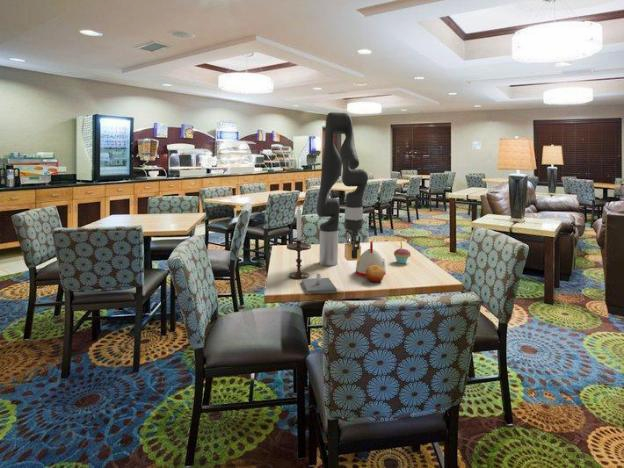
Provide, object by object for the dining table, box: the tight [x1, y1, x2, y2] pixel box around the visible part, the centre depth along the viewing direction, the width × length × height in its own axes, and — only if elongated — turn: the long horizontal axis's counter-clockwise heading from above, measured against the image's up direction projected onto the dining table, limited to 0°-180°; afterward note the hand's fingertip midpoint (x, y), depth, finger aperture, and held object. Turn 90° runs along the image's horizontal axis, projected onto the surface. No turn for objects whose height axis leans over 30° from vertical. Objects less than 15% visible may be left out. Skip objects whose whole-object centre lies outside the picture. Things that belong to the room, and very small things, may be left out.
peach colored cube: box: [344, 243, 362, 262], centre depth 183 cm, size 6×6×6 cm
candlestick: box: [286, 199, 312, 280], centre depth 193 cm, size 11×11×35 cm
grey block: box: [301, 272, 338, 294], centre depth 181 cm, size 16×12×6 cm
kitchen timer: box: [355, 241, 387, 278], centre depth 201 cm, size 14×14×15 cm
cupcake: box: [393, 239, 412, 264], centre depth 221 cm, size 9×8×12 cm
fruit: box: [366, 265, 385, 283], centre depth 190 cm, size 8×8×8 cm
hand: (352, 256), depth 183 cm, fingers closed on peach colored cube, 5 cm apart
